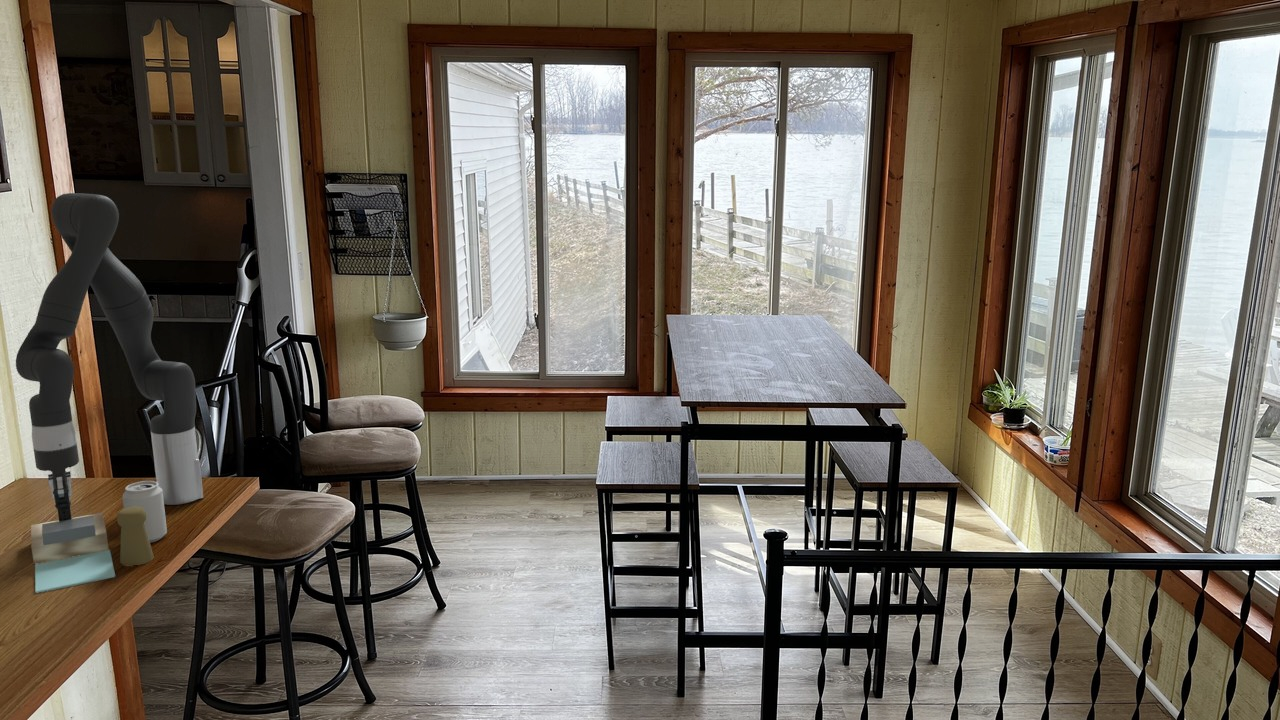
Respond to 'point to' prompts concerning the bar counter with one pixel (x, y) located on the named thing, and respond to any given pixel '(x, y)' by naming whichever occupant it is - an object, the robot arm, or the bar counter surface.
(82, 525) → the grey rectangular block
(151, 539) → the can
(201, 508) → the bar counter surface
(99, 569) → the mat
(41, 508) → the bar counter surface
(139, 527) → the cork
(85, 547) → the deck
